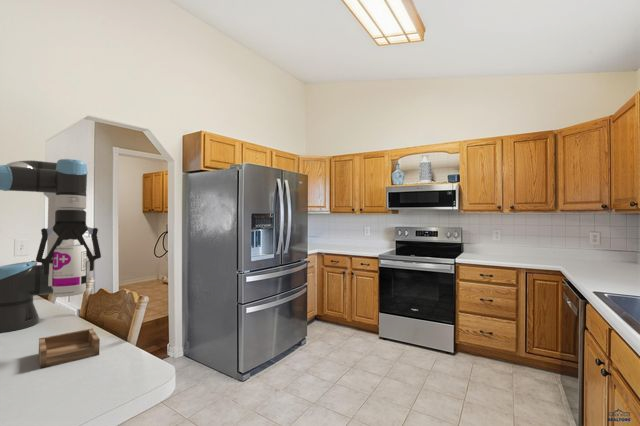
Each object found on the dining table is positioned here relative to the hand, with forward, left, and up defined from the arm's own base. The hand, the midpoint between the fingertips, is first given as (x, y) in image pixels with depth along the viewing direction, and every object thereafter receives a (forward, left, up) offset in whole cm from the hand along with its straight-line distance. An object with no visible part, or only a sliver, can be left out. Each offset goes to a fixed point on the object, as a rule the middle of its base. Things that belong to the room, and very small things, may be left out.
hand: (69, 283), depth 96 cm
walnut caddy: (+4, 0, -20) cm, 21 cm away
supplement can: (0, 0, -3) cm, 3 cm away
